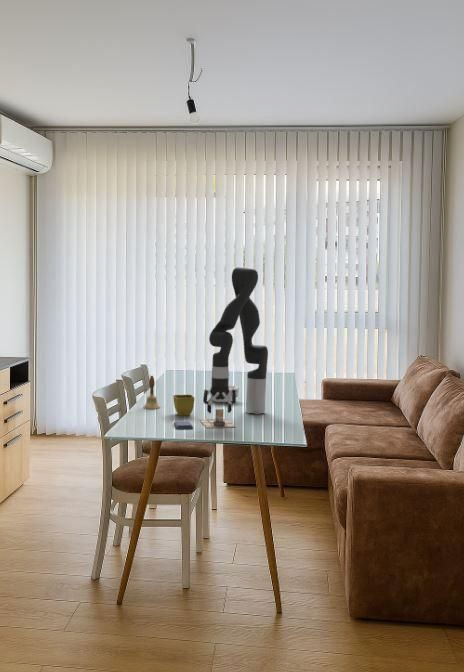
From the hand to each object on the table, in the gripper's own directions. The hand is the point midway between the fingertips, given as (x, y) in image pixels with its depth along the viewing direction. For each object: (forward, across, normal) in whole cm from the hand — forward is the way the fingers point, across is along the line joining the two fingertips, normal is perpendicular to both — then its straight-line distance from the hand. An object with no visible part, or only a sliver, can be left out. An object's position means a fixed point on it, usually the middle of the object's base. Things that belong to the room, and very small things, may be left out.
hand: (219, 412), depth 286 cm
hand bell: (+6, +25, -43) cm, 51 cm away
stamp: (+5, 0, 0) cm, 5 cm away
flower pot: (+6, +12, -24) cm, 28 cm away
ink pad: (+6, +16, +1) cm, 17 cm away
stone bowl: (+7, -15, -58) cm, 60 cm away
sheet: (+6, 0, -4) cm, 7 cm away
